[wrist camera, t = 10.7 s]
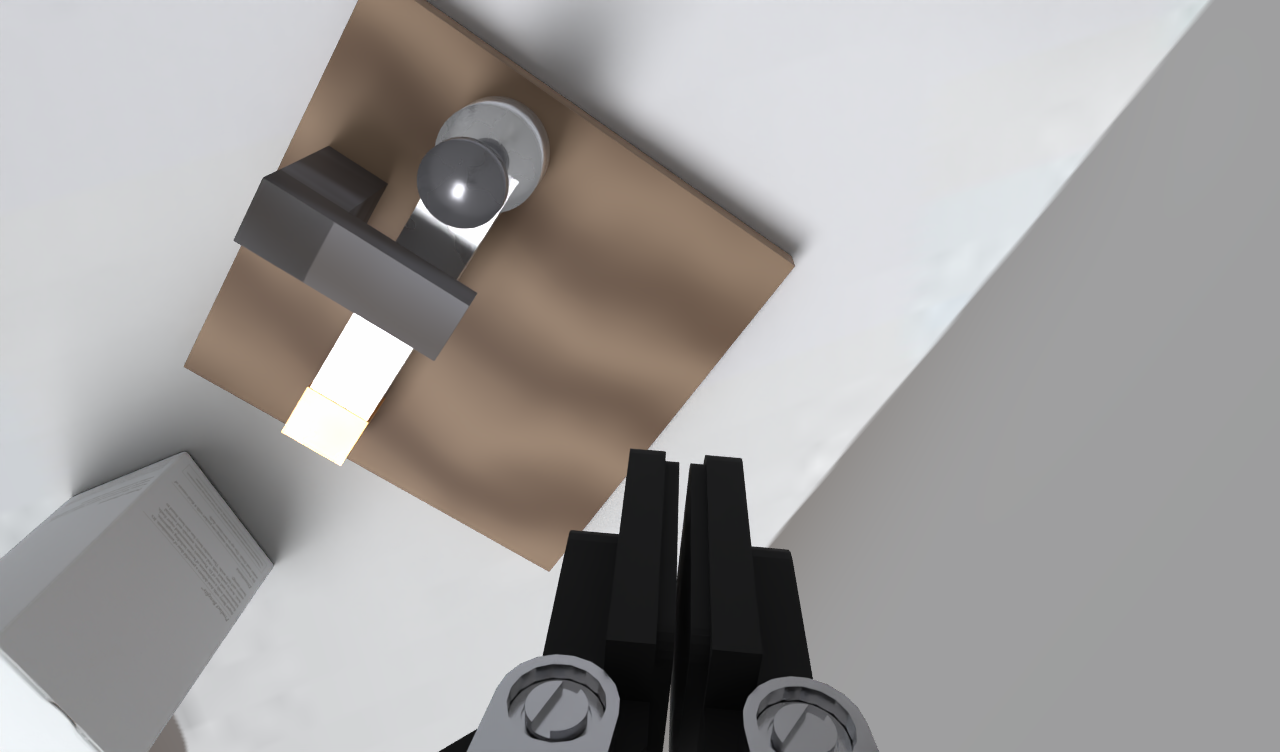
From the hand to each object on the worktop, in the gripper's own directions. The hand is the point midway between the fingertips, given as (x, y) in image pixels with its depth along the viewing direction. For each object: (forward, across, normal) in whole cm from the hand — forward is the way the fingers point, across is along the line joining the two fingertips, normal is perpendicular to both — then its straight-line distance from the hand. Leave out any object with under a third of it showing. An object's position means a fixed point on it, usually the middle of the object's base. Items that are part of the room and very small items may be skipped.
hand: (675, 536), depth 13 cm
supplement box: (+29, +28, +24) cm, 47 cm away
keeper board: (+29, +10, +8) cm, 32 cm away
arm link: (+27, +12, +6) cm, 30 cm away
